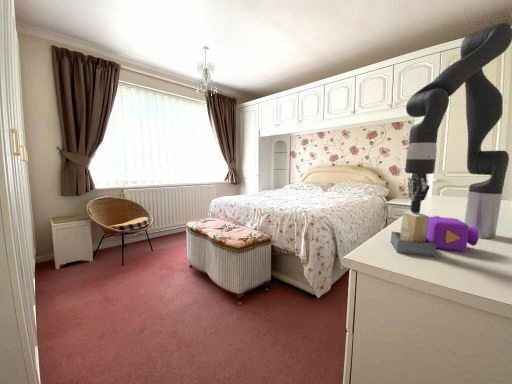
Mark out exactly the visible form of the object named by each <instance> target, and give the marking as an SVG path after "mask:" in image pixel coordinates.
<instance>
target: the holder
mask: <svg viewBox="0 0 512 384" xmlns="http://www.w3.org/2000/svg"><path fill="white" fill-rule="evenodd" d="M400 233H401V231H400V232H399V231H391V235H390V244H391V245H392V247H393V249H394V250H395V252H396V253H399V254H405V255H413V256H421V257H429V258H436V254H437V253H436V250H437V248H436V244H435V243H434V242H433V241H431V240H430V239H429V238H428V237H427V236H426V241H425V243H424V242H415V241H406V240H401V239H400Z"/></svg>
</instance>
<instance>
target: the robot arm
mask: <svg viewBox="0 0 512 384" xmlns="http://www.w3.org/2000/svg"><path fill="white" fill-rule="evenodd" d="M511 43H512V26H511V25H510V24H509V23H508V22H500V23H495V24H492V25H490V26H487V27H485V28H482V29H479V30H477V31H474V32H471V33H469V34H467V35H465V36H464V38H463V40H462V42H461V45H460V59H459V60H457V61H455V62H453V63H452V64H450V65H448V67H446V68H445V69H444V70H443V71H442V72H441V73H439V74H438V75H437V76H436V77H435V79H433V80H432V81H431V82H429V83H428V84H426V85H425V86H424V87H421V89H419V90H417V91H416V92H415V93H413V94H412V95H411V97H409V99H408V100H407V103H406V105H405V111H406V113H407V115H408V116H409V117H412V118H421V117H423V119H422V120H421V121H420V122H419V123H417V124H414V125H412V126H411V128H410V130H409V138H408V147H407V151H406V161H405V169H404V172H405V173H406V174H411V177H410V178H409V181H408V182H407V187H408V197H409V199H410V201H411V203H410V211H409V212H413V213H420V212H421V206H422V205H421V204H422V202H423V201H424V200H425V198H426V197H427V195H428V192H429V189H430V185H429V184H428V179H427V178H428V177H427V175H432V174H434V173H435V170H436V169H435V168H436V161H437V159H436V158H437V140H438V134H439V129H440V126H441V124H442V122H443V119H444V117H445V114H446V112H447V109H448V107H449V104H450V97H451V96H452V95H454V94H455V93H456V92H457V90H459V88H461V87H462V86H463V84H464V89H465V113H466V128H467V150H466V151H467V155H466V169H467V171H468V173H469V174H471V175H478V176H479V175H480V176H482V175H483V176H490V178H489V179H486V180H484V181H481V182H475V183H471V184H470V185H469V187H468V193H467V194H468V195H467V201H466V202H467V203H466V209H465V210H466V211H465V218H464V223H466V224H467V225H468V227H471V226H475V227H476V228H477V230H478V238H481V239H495V238H496V234H497V229H498V228H497V227H498V223H499V221H498V220H499V215H500V210H501V209H500V208H501V202H502V196H503V191H504V190H503V189H504V185H505V184H504V183H505V179H506V175H507V171H508V166H509V162H510V156H509V155H510V154H509V153H508V152H507V151H506V150H482V144H483V143H484V140H485V139H486V137H487V135H488V134H489V133H490V132H491V131H492V129H494V127H495V126H496V125H497V123H498V122H499V121H500V120H501V118H502V116H503V95H502V93H501V91H500V90H499V89H498V88H497V86H496V85H494V84H493V82H491V80H489V79H488V78H487V77H486V75H485V73H484V71H483V68H484V67H485V66H487V65H488V64H490V63H491V62H492V61H493V60H495V59H496V58H498V57H500V56H501V55H502V54H504V53H505V52H506V51H507V50H508V49H509V47H510V45H511Z"/></svg>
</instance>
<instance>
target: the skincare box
mask: <svg viewBox="0 0 512 384" xmlns="http://www.w3.org/2000/svg"><path fill="white" fill-rule="evenodd" d="M429 217H430V216H429V215H425V214H424V213H420V212H419V213H413V212H411V211H403V212H402V219H401V227H400V232H401V233H400V239H401V240H406V241H415V242H424V243H425V241H426V234H427V227H428V220H429Z"/></svg>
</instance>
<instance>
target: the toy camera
mask: <svg viewBox="0 0 512 384" xmlns="http://www.w3.org/2000/svg"><path fill="white" fill-rule="evenodd" d="M426 236H427V237H428V238H429V239H430V240H431V241H433V242H434V243H435V244H436V249H441V250H449V251H456V252H458V251H459V252H464V251H465V250H466V249H467V247H468V246H467V245H468V244H469V245H471V246H473V247H474V246H476V245H477V244H478V241H479V237H478V230H477V228H476V227H475V226H471V227H468V225H467V224H466V223H465V221H464V222H463V221H462V220H460V219H458V218H453V217H443V216H441V217H440V215H435V214H434V215H432V216H429V220H428V227H427V234H426Z"/></svg>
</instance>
